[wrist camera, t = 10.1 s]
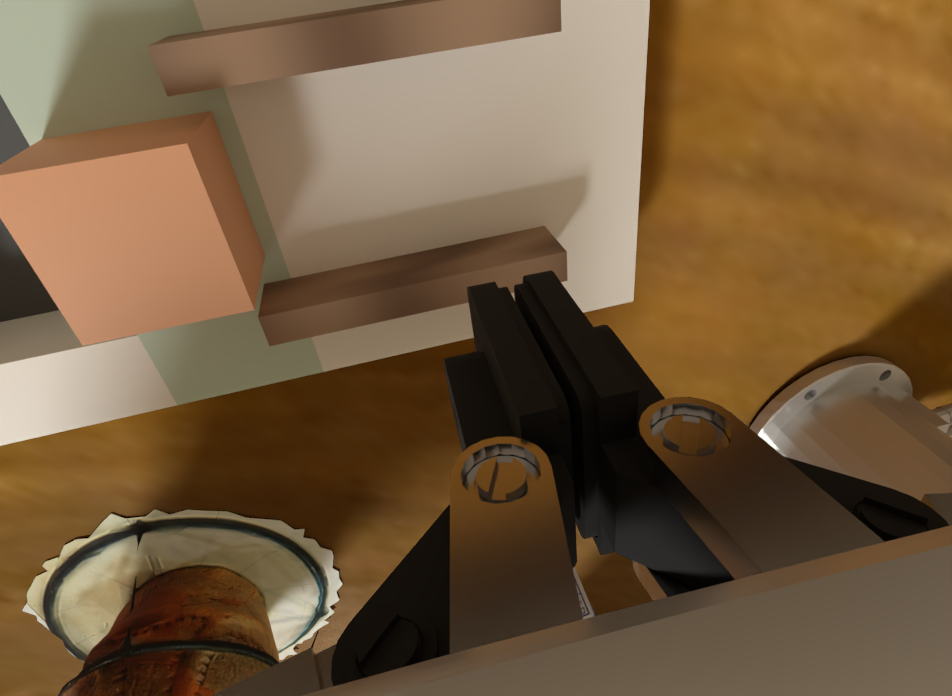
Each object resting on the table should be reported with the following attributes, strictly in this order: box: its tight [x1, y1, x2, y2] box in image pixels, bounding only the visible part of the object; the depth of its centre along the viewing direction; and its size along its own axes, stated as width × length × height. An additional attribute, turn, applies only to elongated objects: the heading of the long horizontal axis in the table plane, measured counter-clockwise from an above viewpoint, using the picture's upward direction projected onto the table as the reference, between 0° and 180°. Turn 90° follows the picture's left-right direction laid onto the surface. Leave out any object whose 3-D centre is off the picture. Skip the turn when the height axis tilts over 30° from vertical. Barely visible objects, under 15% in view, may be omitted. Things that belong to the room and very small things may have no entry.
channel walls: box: [147, 0, 568, 346], centre depth 19 cm, size 11×9×2 cm
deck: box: [0, 0, 650, 446], centre depth 21 cm, size 28×16×4 cm, turn 96°
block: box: [0, 111, 265, 346], centre depth 17 cm, size 5×5×4 cm
